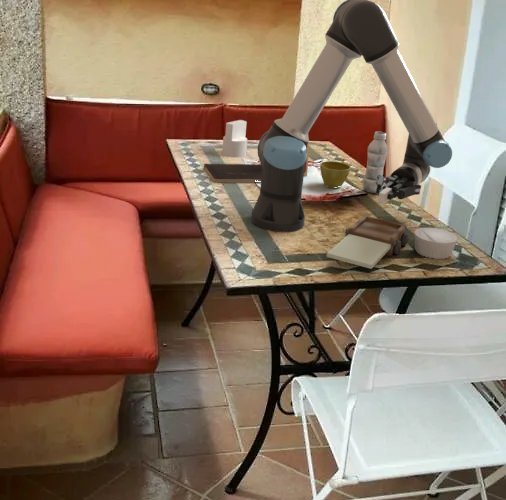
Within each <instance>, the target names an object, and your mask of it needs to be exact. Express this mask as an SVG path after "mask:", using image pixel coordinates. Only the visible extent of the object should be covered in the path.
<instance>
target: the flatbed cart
mask: <svg viewBox="0 0 506 500" xmlns="http://www.w3.org/2000/svg"><path fill="white" fill-rule="evenodd" d="M406 230H407V224H403V223H398V222H394V221H390V220H387V219H382V218H379V217H374V216H369V215H365V214H364V215H363V216H362V217H360V218H359V219H358V220H357V221H356V222H355V223H354V224H353V225H352V226H350V227H349V228H346V229H345V232H344V234H345V237H346V236H347V235H348V234H351V235H355V236H359V237H363V238H367V239H371V240H375V241H379V242H383V243H387V244H391V248H390V249H389V250H388V252H387V253H386V254H385V255H384V256H390V257H392V255H393V254H395V255H399V254H400V251H401V247H402V246H403V247H406V245H407V243H408V239H409V233H408V232H406ZM345 237H344V238H345Z"/></svg>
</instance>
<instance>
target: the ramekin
mask: <svg viewBox="0 0 506 500" xmlns="http://www.w3.org/2000/svg"><path fill="white" fill-rule="evenodd" d="M413 237H414V249H415V250H414V251H416V253H417V254H419V255H420V256H422V257H424V256H425V257H424V258H427V257H429V258H428V259H431V258H434V259H433V260H445V258H446V259H448V258H449V257H451V255H452V254H453V251H454V249H455V246H456V244H457V243H458V237H457V236H456V235H455V234H454V233H453V232H451V231H448V230H445V229H441V228H436V227H421V228H417V229H415V230H414V232H413Z"/></svg>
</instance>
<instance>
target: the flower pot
mask: <svg viewBox="0 0 506 500" xmlns="http://www.w3.org/2000/svg"><path fill="white" fill-rule="evenodd" d="M319 164H320V165H319V166H320V167H319V168H320V174H321V178H322V181H323V183H324V185H326V186H325V187H327V186H328V187H327V188H329V187H338V186H341V187H342V186H343V184H344V183H345V181H346V180H347V178H348V175H349V173H350V171H351V168H352V167H351V166H350V165H349V164H347V163H344V162H340V161H335V160H334V161H332V160H331V161H330V160H329V161H327V160H326V161H322V162H320V163H319Z"/></svg>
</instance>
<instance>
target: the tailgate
mask: <svg viewBox="0 0 506 500" xmlns="http://www.w3.org/2000/svg"><path fill="white" fill-rule="evenodd" d="M345 236H346V235H345ZM390 248H391V244H387V243H383V242H379V241H375V240H371V239H367V238H363V237H359V236H355V235H351V234H348V235H347V236H346V237H344V238H342V240H340V241H339V242H338V243H337V244H336V245H334V247H332V248H331V249H330V250H328V252H326V257H327V258H329V259H333V260H337V261H340V262H343V263H349V264H352V265H356V266H358V267H359V266H360V267H363V268H367V269H371V270H372V269H373V267H375V266H376V264H378V262H379V261H380V260H381V259H382V258H383V257H384V256H386V255H385V254H386V253H387V252H388V250H389V249H390Z"/></svg>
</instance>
